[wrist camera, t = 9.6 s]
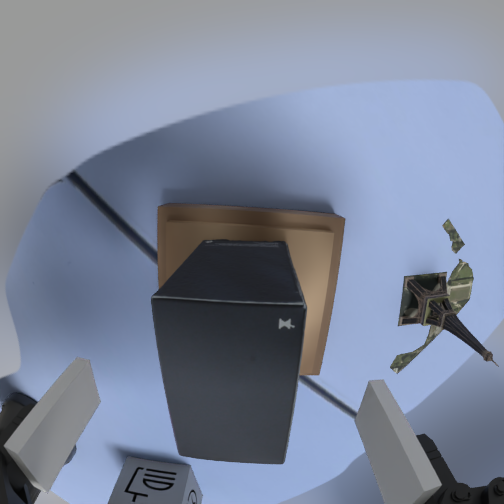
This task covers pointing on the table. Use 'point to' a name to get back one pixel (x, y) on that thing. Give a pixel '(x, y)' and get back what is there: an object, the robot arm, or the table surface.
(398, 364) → the eiffel tower figurine
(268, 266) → the small box
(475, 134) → the table surface
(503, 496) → the robot arm
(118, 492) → the icon cube
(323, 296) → the plinth
